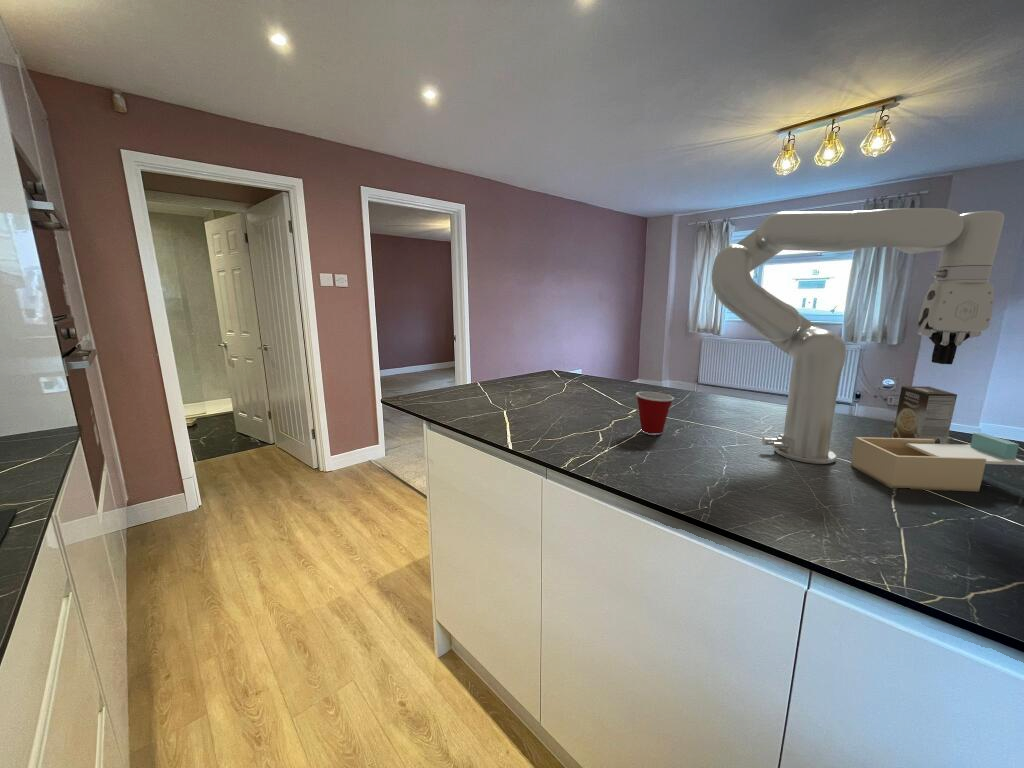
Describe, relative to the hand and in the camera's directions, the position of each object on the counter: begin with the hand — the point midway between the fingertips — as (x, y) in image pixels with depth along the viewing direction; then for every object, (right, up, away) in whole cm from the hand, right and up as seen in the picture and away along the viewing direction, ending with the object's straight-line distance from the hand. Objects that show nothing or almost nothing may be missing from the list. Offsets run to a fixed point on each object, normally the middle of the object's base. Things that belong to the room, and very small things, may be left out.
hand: (941, 363), depth 87 cm
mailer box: (-6, -25, +1) cm, 26 cm away
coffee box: (+11, -22, +16) cm, 30 cm away
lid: (+3, -20, -1) cm, 20 cm away
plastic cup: (-51, -20, +34) cm, 64 cm away
